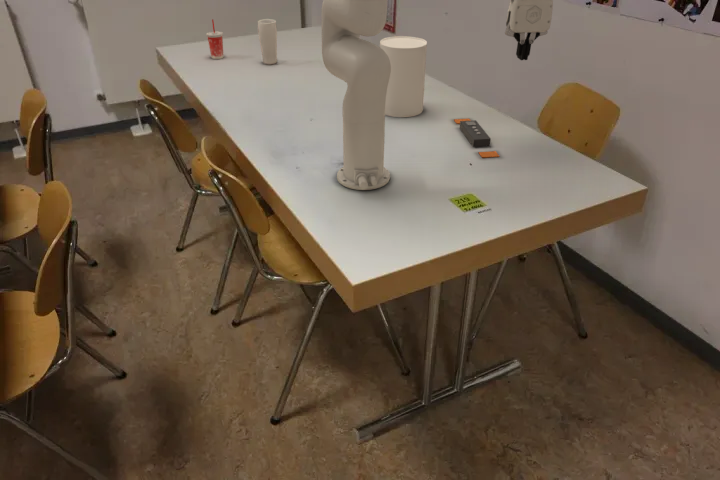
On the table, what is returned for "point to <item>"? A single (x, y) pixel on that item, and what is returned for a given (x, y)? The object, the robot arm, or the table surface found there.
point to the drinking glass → (268, 40)
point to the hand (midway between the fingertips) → (522, 58)
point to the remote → (475, 133)
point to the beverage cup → (215, 43)
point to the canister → (405, 75)
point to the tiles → (482, 154)
